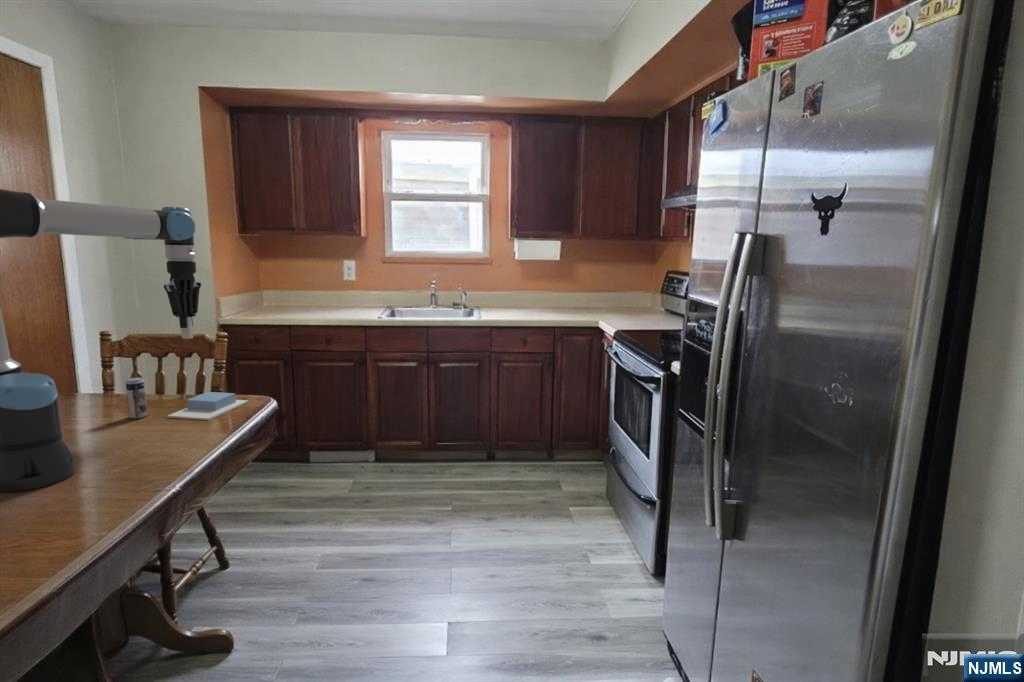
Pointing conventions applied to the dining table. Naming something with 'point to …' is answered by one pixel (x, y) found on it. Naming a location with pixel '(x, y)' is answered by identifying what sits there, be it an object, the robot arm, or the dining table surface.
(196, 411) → the mat
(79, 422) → the dining table surface
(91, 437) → the dining table surface
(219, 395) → the block
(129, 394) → the beer can
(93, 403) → the dining table surface
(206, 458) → the dining table surface
